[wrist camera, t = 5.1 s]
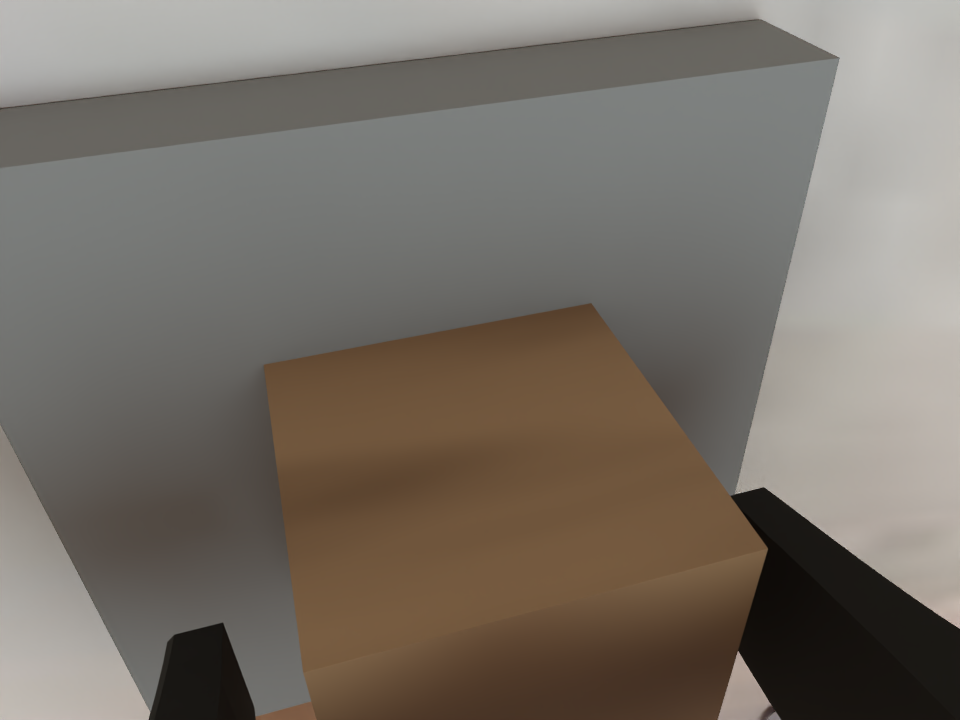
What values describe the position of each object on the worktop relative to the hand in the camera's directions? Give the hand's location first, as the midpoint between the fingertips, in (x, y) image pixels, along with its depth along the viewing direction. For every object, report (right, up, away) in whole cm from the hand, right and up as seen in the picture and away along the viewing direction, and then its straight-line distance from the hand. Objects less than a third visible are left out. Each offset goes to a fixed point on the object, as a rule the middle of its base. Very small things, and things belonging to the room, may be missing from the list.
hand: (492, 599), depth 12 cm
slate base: (-1, +3, +4) cm, 5 cm away
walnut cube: (-1, +2, +2) cm, 3 cm away
